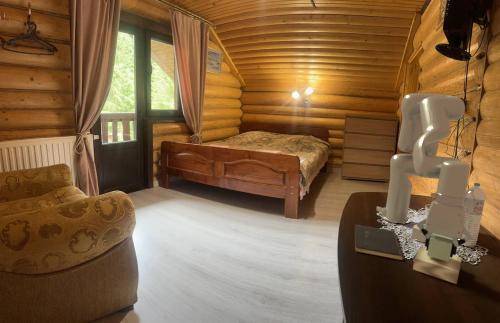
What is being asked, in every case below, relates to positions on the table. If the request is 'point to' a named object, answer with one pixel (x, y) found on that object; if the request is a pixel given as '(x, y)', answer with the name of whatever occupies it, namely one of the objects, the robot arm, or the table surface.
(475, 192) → the water bottle
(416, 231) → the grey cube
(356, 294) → the table surface
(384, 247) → the hardcover book
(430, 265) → the birch block
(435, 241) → the sage cube
